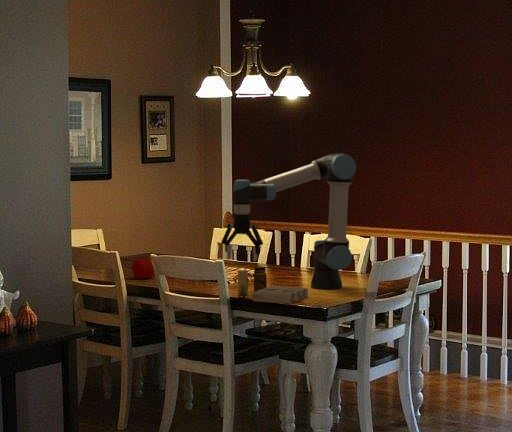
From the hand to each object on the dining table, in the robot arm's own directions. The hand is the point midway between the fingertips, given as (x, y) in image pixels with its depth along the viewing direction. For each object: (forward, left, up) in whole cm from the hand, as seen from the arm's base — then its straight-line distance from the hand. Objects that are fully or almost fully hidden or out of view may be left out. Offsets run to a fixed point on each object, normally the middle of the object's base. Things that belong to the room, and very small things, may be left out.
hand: (242, 260), depth 455 cm
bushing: (0, 0, -17) cm, 17 cm away
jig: (0, +19, -17) cm, 26 cm away
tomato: (-34, -75, -17) cm, 84 cm away
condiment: (-14, +1, -17) cm, 22 cm away
